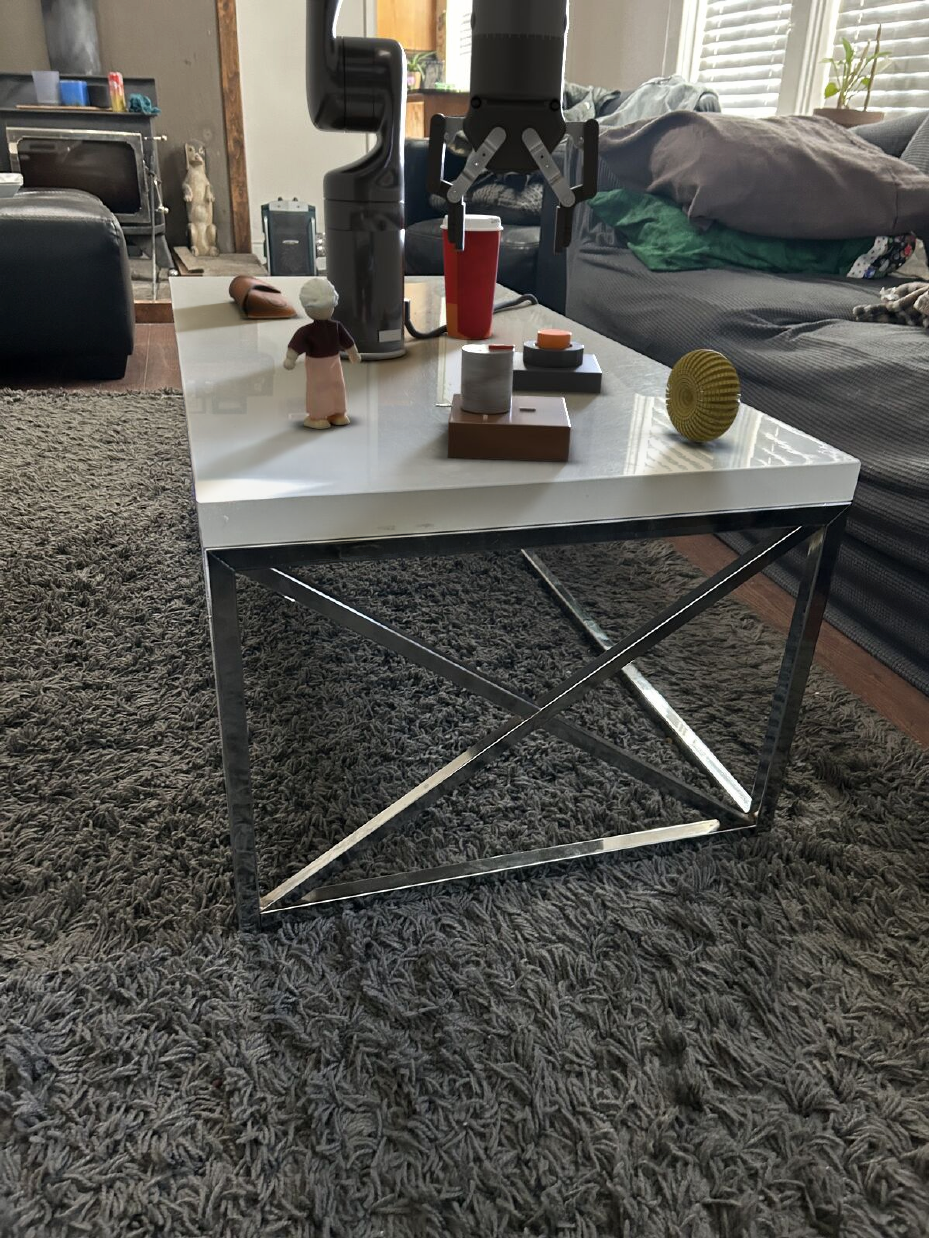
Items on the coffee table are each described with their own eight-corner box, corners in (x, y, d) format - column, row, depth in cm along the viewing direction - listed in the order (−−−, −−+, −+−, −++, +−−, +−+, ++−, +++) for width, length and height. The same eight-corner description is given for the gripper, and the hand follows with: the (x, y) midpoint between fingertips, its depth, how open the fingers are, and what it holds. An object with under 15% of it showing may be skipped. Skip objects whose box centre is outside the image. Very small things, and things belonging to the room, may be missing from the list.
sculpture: (652, 431, 88) (662, 342, 85) (687, 427, 90) (699, 340, 86) (704, 454, 82) (718, 360, 78) (742, 450, 83) (757, 357, 80)
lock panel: (438, 425, 88) (439, 391, 87) (561, 429, 88) (563, 395, 86) (431, 457, 79) (432, 419, 78) (568, 462, 79) (571, 424, 78)
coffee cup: (509, 334, 131) (515, 216, 125) (480, 343, 125) (484, 219, 118) (457, 327, 135) (460, 213, 129) (426, 336, 129) (427, 215, 122)
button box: (505, 370, 110) (507, 335, 109) (592, 373, 110) (595, 338, 108) (506, 390, 101) (507, 352, 100) (600, 393, 101) (603, 355, 99)
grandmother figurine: (338, 412, 91) (334, 272, 85) (367, 420, 89) (364, 277, 83) (276, 428, 86) (267, 279, 80) (305, 436, 84) (298, 284, 78)
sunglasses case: (302, 314, 139) (276, 273, 135) (261, 341, 138) (234, 300, 135) (281, 296, 154) (258, 259, 150) (245, 320, 154) (220, 283, 150)
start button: (536, 345, 106) (537, 328, 105) (568, 346, 106) (569, 329, 105) (537, 351, 103) (538, 334, 102) (570, 352, 103) (572, 335, 102)
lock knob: (460, 413, 80) (462, 349, 78) (460, 400, 84) (461, 339, 82) (512, 414, 80) (515, 350, 78) (510, 402, 84) (512, 340, 82)
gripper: (605, 40, 78) (587, 250, 86) (432, 34, 79) (429, 244, 86) (613, 32, 72) (593, 260, 79) (424, 26, 72) (422, 254, 80)
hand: (508, 251), depth 83 cm, fingers open, 8 cm apart
